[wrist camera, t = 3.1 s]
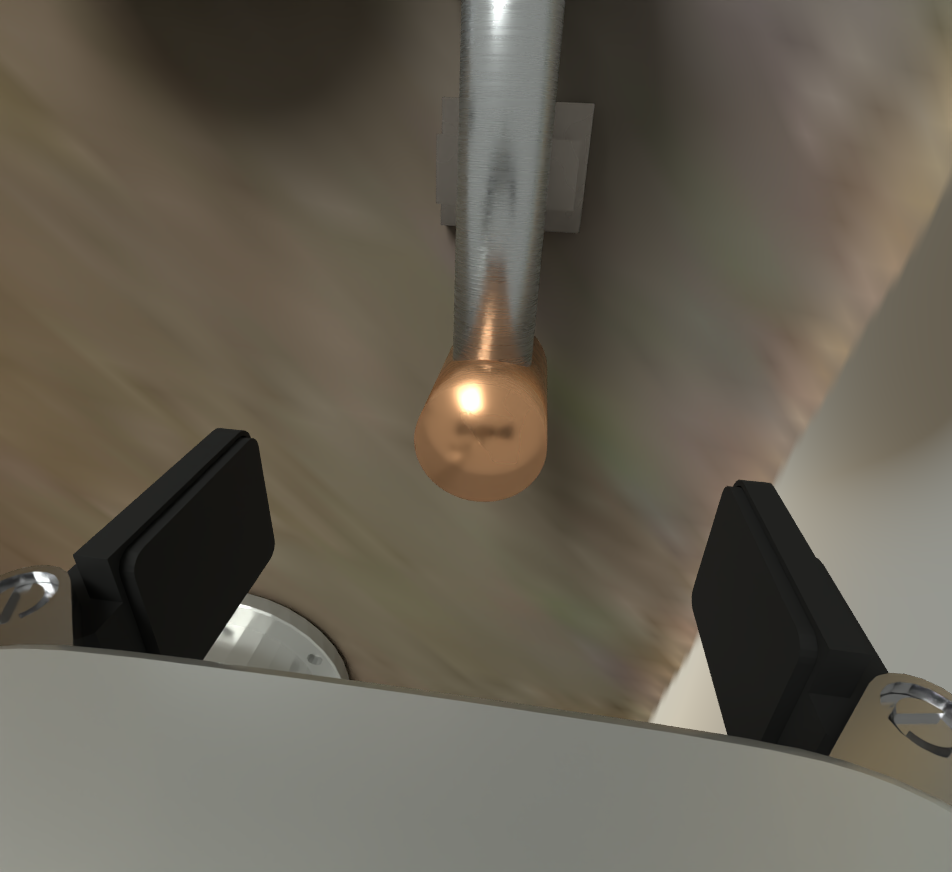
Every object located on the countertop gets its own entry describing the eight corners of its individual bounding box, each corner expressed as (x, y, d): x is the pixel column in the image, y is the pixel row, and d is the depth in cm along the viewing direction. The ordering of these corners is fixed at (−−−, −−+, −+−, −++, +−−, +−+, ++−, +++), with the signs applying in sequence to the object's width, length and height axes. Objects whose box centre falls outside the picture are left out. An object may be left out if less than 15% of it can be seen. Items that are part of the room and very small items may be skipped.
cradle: (578, 230, 21) (585, 251, 17) (444, 222, 21) (419, 241, 17) (592, 105, 19) (605, 94, 15) (446, 98, 19) (419, 86, 15)
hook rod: (541, 416, 21) (540, 507, 16) (447, 408, 22) (414, 495, 16) (633, -436, 12) (701, -896, 7) (463, -430, 12) (401, -867, 7)
